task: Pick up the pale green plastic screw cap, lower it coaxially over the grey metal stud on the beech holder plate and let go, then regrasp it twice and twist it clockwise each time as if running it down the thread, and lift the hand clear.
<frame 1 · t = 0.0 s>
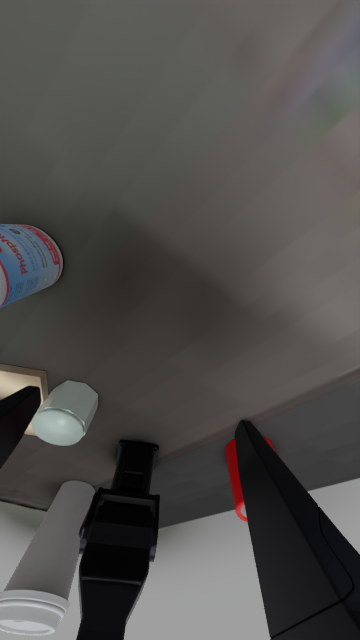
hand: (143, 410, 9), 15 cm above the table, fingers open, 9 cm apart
coffee cup: (78, 488, 40), on the table
holder: (6, 396, 29), on the table
cap: (76, 397, 29), on the table
pill bottle: (36, 256, 21), on the table
mug: (246, 441, 33), on the table
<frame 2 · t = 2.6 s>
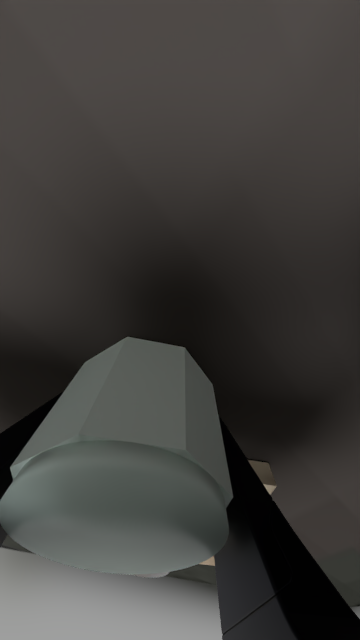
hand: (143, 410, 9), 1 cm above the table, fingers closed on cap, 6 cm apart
holder: (155, 500, 14), on the table
cap: (146, 392, 10), on the table, touching gripper
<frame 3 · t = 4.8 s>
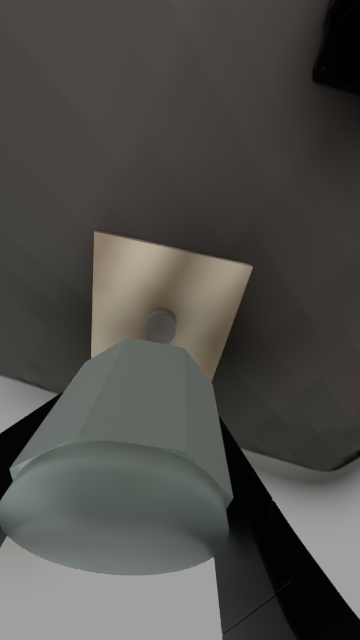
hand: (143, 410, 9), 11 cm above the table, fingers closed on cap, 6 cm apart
holder: (163, 315, 19), on the table
cap: (146, 393, 10), point 10 cm above the table, touching gripper
when the fingers open (3 cm above the table, at t = 6.8 s): cap drops 1 cm, resting on holder.
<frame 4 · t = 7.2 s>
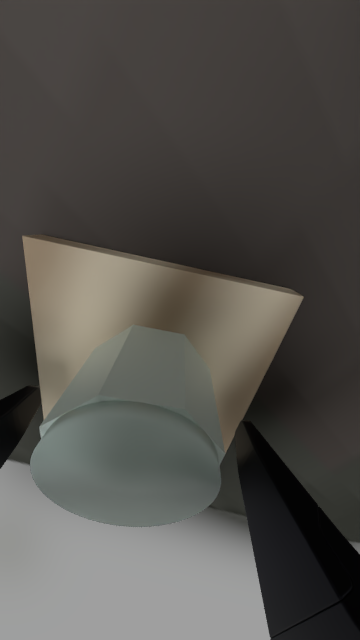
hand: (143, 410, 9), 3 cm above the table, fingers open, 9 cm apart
holder: (153, 363, 12), on the table
cap: (150, 377, 11), point 1 cm above the table, touching holder
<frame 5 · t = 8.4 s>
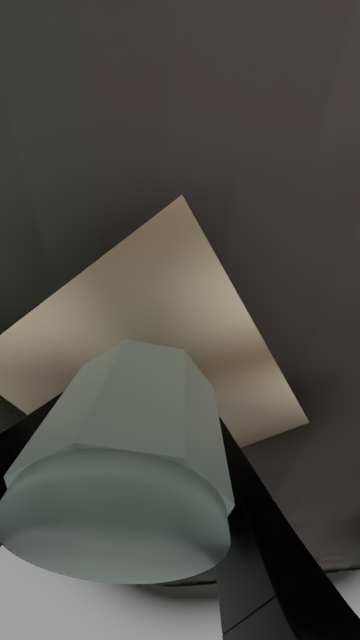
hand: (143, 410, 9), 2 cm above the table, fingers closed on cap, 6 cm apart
holder: (149, 378, 11), on the table
cap: (146, 396, 10), point 1 cm above the table, touching gripper, holder
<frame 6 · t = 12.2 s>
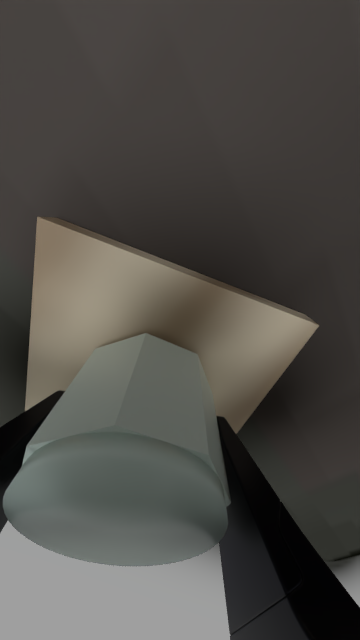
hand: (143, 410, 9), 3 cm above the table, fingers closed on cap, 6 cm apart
holder: (152, 369, 12), on the table
cap: (147, 389, 10), point 2 cm above the table, touching gripper
when the fingers open (2 cm above the table, at t = 13.2 s): cap stays where it is, resting on holder.
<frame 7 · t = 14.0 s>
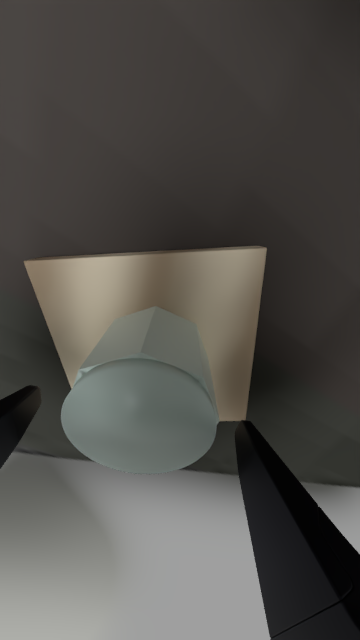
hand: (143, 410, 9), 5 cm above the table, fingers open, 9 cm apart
holder: (157, 345, 13), on the table
cap: (155, 355, 12), point 1 cm above the table, touching holder
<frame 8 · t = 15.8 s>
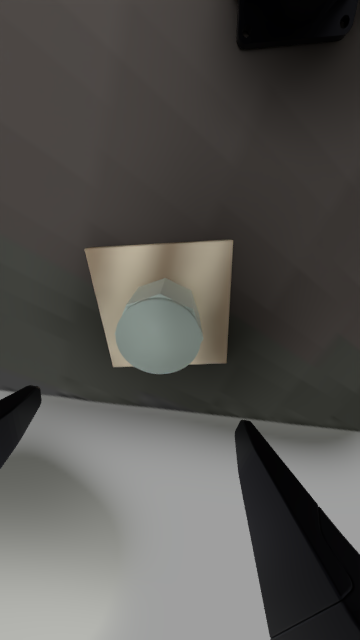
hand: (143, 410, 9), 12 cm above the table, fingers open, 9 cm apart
holder: (165, 308, 20), on the table
cap: (164, 312, 19), point 1 cm above the table, touching holder
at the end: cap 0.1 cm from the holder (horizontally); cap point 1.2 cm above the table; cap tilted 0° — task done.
